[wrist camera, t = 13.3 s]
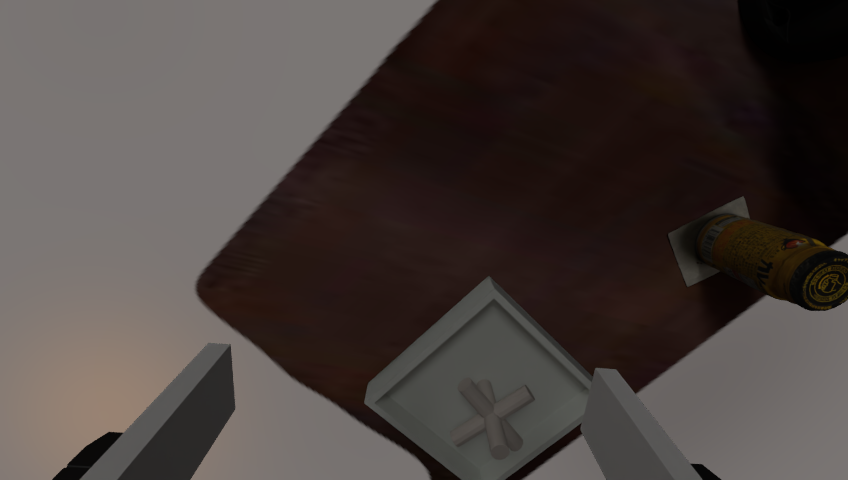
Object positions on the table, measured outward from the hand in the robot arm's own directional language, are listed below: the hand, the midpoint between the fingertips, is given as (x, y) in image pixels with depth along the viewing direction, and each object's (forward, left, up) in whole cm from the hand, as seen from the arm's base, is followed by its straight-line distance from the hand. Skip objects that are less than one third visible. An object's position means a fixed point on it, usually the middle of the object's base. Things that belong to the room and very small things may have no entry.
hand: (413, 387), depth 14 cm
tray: (-10, +21, -29) cm, 37 cm away
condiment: (-33, +1, -29) cm, 44 cm away
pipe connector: (-10, +21, -28) cm, 36 cm away
